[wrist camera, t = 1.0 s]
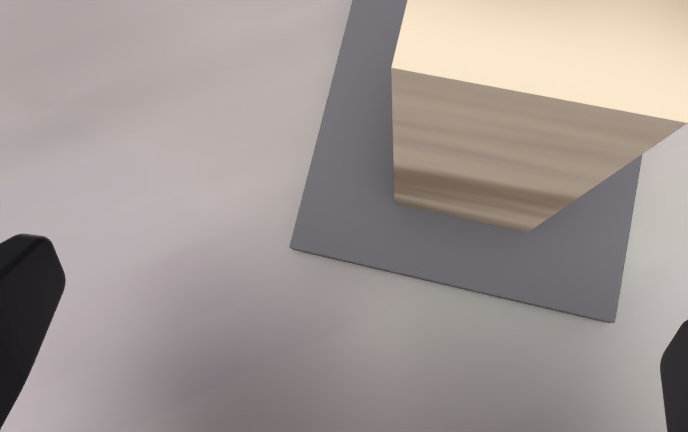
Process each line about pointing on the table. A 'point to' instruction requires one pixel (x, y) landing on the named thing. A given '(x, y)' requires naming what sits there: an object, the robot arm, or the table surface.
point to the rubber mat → (438, 229)
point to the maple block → (530, 101)
